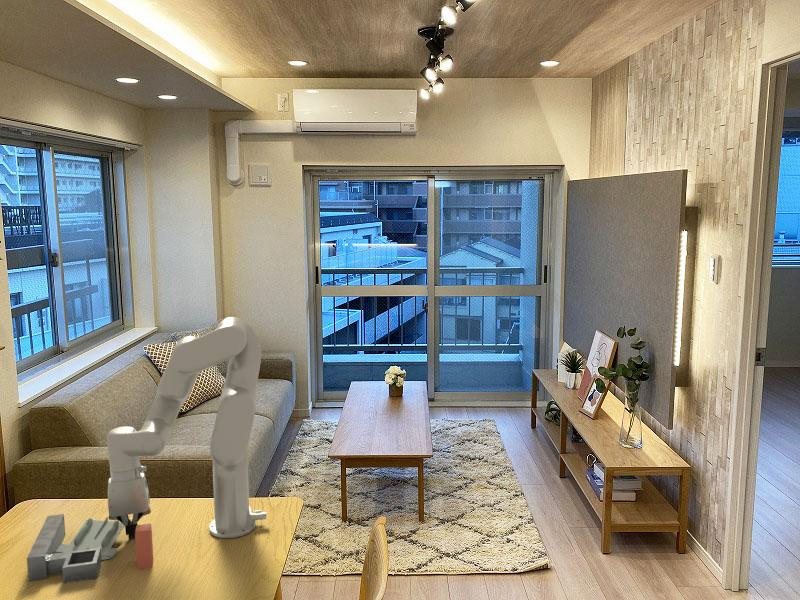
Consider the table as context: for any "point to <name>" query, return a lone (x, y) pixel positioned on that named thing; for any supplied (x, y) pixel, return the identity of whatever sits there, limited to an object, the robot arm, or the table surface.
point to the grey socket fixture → (60, 555)
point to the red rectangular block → (144, 546)
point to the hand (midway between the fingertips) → (132, 536)
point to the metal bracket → (95, 537)
